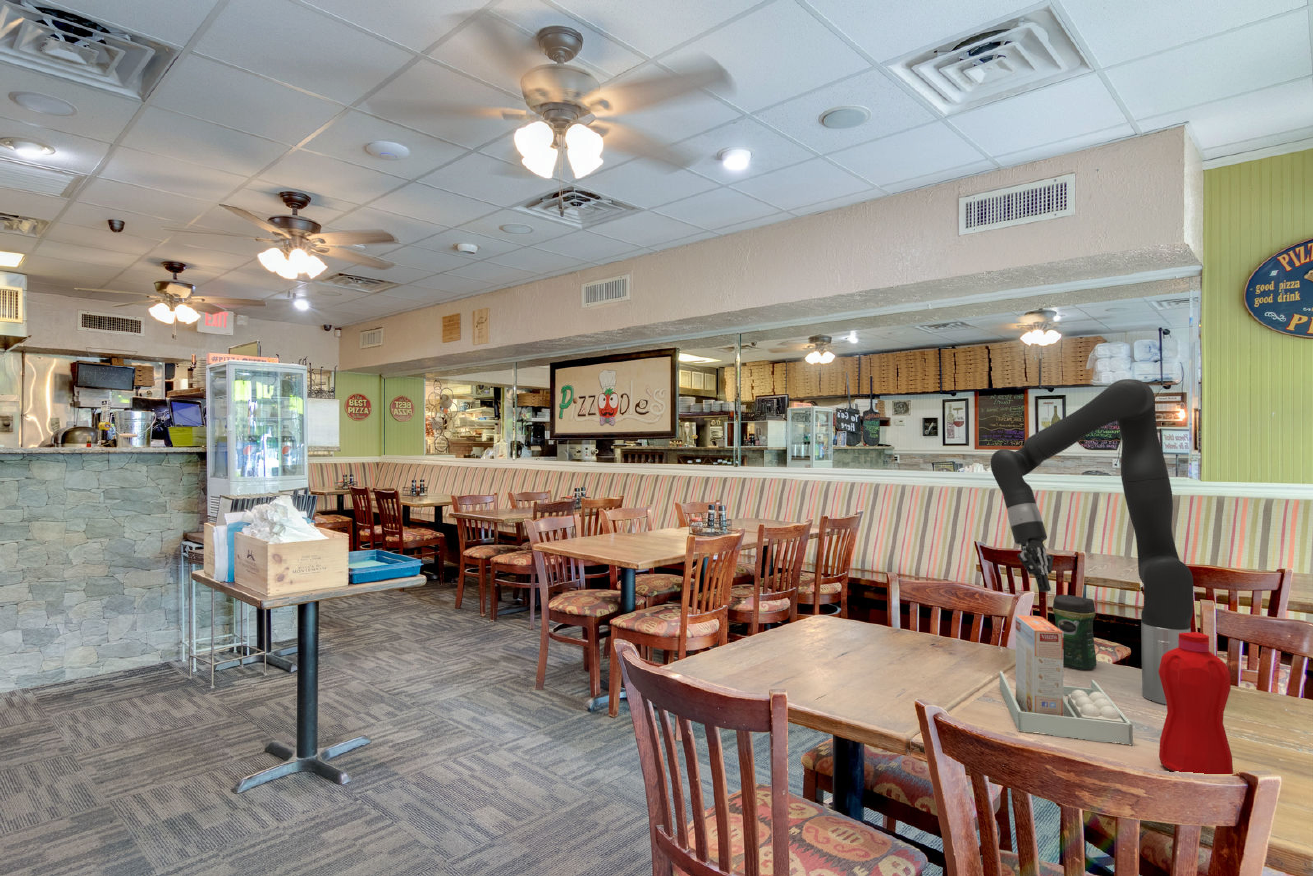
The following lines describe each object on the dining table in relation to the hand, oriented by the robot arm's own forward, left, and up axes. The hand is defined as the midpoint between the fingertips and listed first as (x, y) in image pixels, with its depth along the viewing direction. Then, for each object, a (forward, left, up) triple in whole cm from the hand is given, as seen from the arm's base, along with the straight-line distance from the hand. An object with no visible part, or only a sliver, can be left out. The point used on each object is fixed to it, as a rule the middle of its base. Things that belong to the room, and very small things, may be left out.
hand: (1045, 591), depth 172 cm
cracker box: (+6, +27, -23) cm, 36 cm away
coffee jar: (-10, -19, -23) cm, 31 cm away
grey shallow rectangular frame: (+1, +21, -23) cm, 31 cm away
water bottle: (-15, +44, -23) cm, 52 cm away
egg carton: (-4, +27, -23) cm, 36 cm away
